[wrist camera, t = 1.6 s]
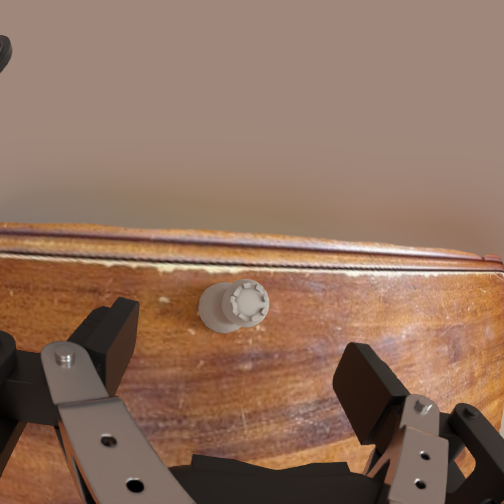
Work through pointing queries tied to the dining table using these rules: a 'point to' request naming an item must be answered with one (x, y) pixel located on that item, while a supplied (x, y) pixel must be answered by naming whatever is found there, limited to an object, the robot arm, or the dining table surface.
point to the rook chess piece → (233, 305)
